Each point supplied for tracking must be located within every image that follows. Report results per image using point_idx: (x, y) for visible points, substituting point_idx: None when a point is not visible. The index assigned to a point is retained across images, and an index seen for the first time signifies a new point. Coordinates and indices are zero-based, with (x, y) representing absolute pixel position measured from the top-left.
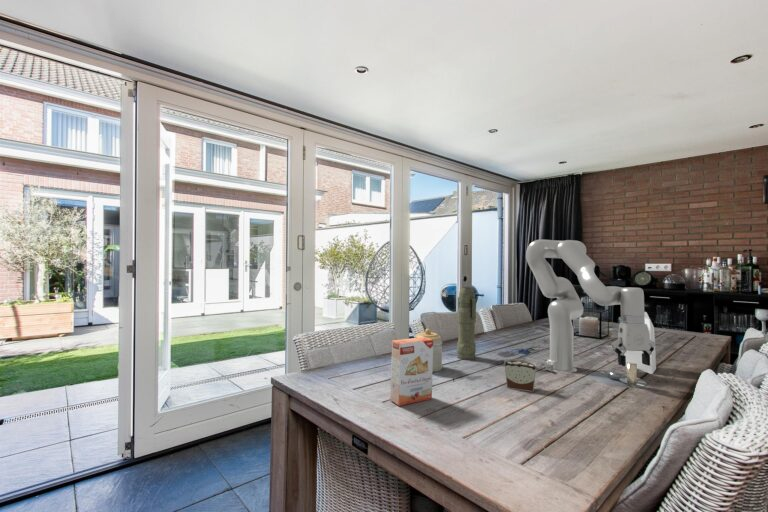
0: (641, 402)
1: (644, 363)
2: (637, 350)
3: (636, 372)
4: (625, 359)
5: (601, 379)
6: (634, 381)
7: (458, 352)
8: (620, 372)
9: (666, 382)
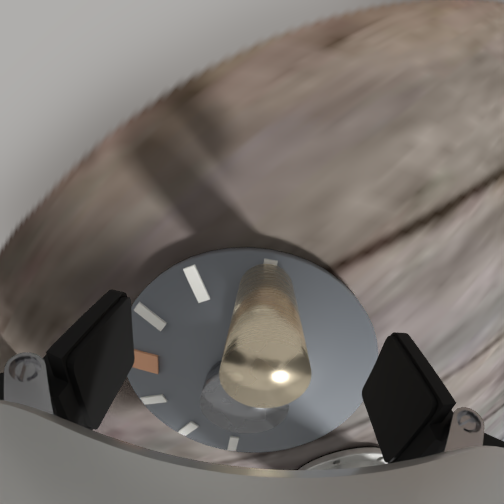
0: (393, 110)
1: (130, 341)
2: (327, 473)
3: (247, 304)
4: (420, 375)
5: (330, 389)
6: (273, 273)
7: None
8: (225, 401)
9: (35, 303)
